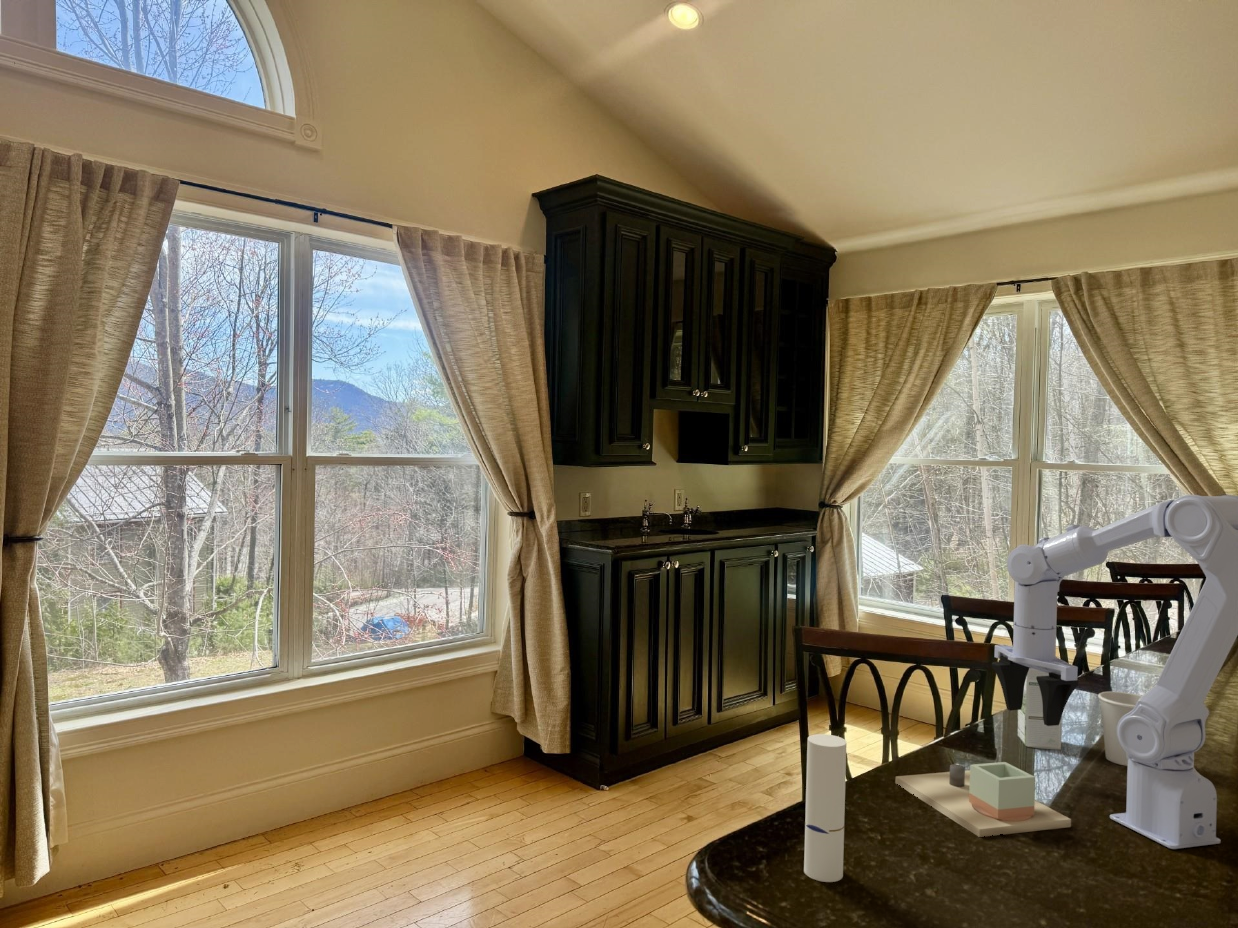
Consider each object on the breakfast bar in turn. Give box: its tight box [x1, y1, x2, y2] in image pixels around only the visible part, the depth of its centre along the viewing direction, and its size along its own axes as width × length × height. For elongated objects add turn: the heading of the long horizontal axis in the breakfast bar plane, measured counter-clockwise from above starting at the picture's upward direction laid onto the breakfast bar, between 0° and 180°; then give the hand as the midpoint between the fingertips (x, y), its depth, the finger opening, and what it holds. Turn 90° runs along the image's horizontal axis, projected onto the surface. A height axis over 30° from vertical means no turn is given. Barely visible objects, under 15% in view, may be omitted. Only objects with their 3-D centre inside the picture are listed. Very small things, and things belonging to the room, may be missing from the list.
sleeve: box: [969, 761, 1036, 819], centre depth 112 cm, size 6×6×5 cm
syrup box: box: [1016, 668, 1063, 750], centre depth 143 cm, size 6×6×14 cm
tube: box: [803, 733, 847, 883], centre depth 96 cm, size 4×4×15 cm
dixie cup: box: [1097, 691, 1143, 767], centre depth 136 cm, size 8×8×10 cm
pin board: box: [894, 763, 1072, 838], centre depth 117 cm, size 18×14×4 cm
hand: (1032, 716), depth 126 cm, fingers open, 7 cm apart
